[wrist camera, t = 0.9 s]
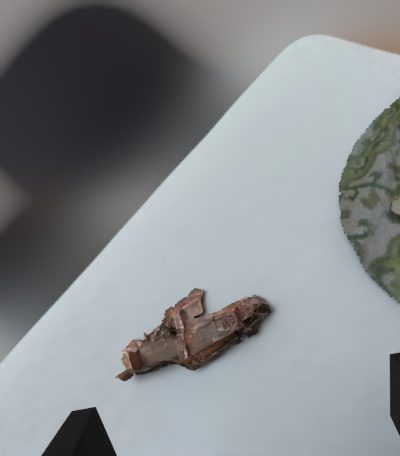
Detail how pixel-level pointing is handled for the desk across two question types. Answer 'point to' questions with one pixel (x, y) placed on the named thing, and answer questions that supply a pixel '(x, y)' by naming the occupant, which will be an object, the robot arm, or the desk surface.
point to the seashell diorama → (375, 199)
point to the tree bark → (193, 335)
